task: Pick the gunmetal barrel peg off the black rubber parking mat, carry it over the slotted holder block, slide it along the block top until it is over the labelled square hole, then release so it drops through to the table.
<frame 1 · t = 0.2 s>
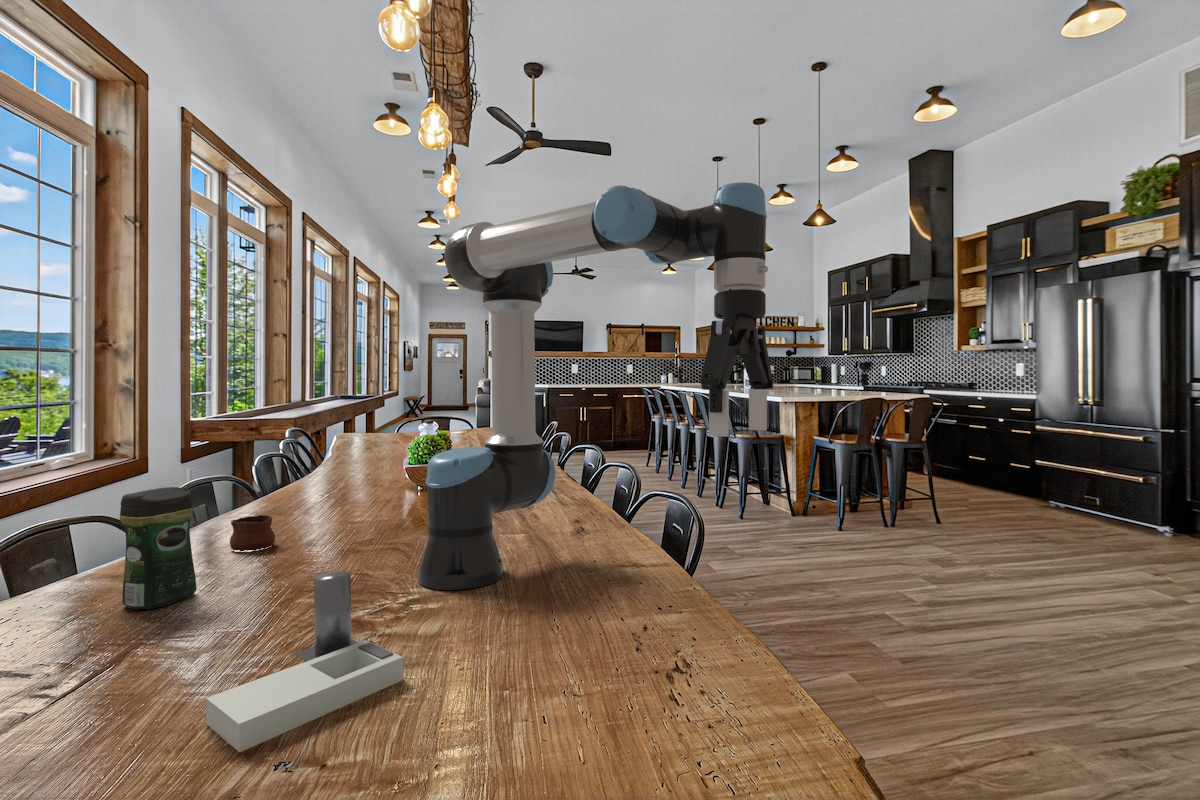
hand: (739, 433, 92), 28 cm above the table, fingers open, 13 cm apart
ceramic pot: (253, 550, 133), on the table
slotted holder block: (311, 702, 68), on the table
coffee jar: (159, 602, 100), on the table
parking mat: (333, 653, 80), on the table
barrel peg: (333, 651, 80), resting on parking mat
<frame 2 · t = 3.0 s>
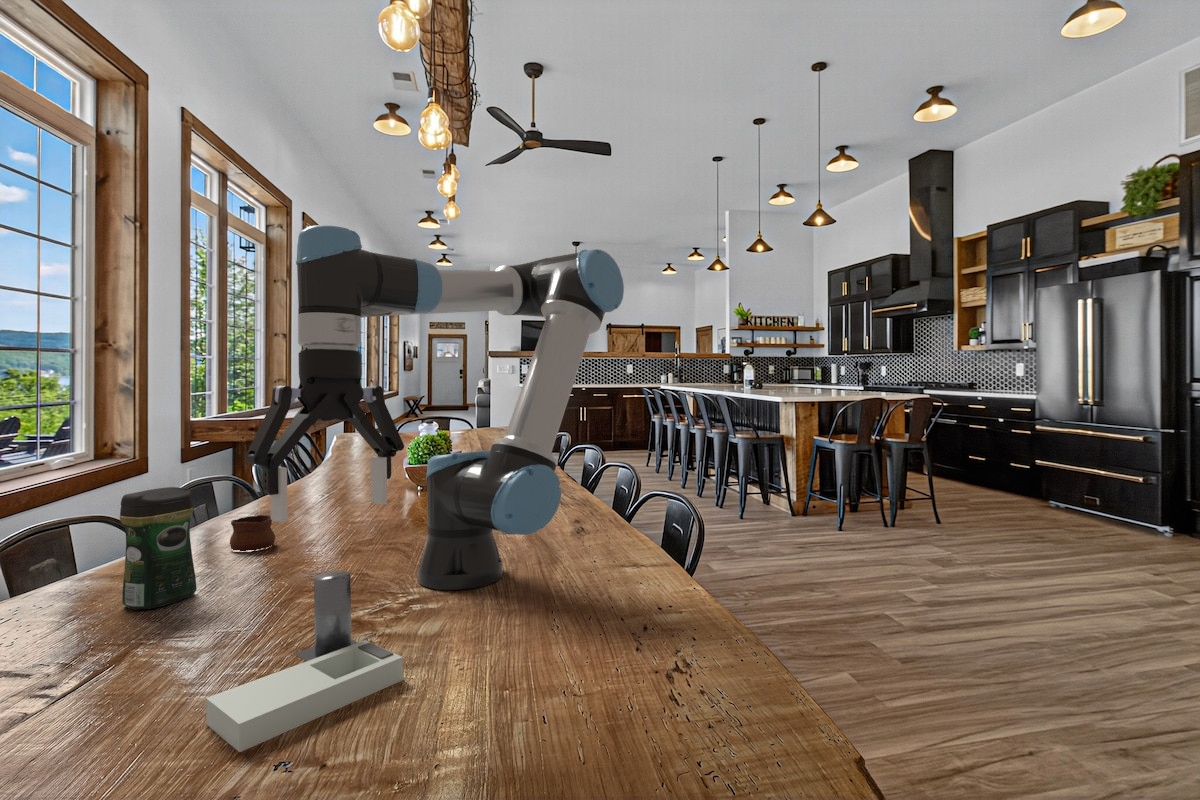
hand: (332, 511, 80), 19 cm above the table, fingers open, 13 cm apart
nothing on the table moved.
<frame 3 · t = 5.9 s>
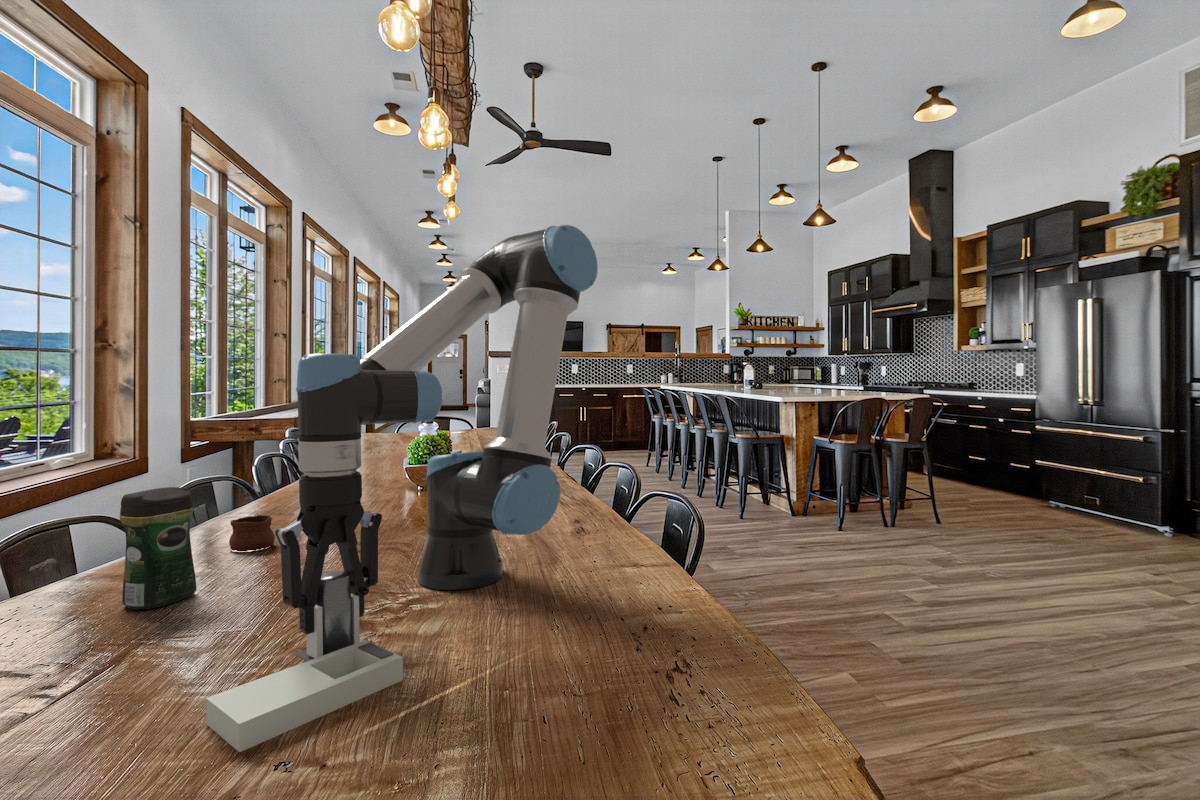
hand: (333, 648, 80), 1 cm above the table, fingers closed on barrel peg, 4 cm apart
barrel peg: (333, 651, 80), resting on parking mat, touching gripper
everything else where it was.
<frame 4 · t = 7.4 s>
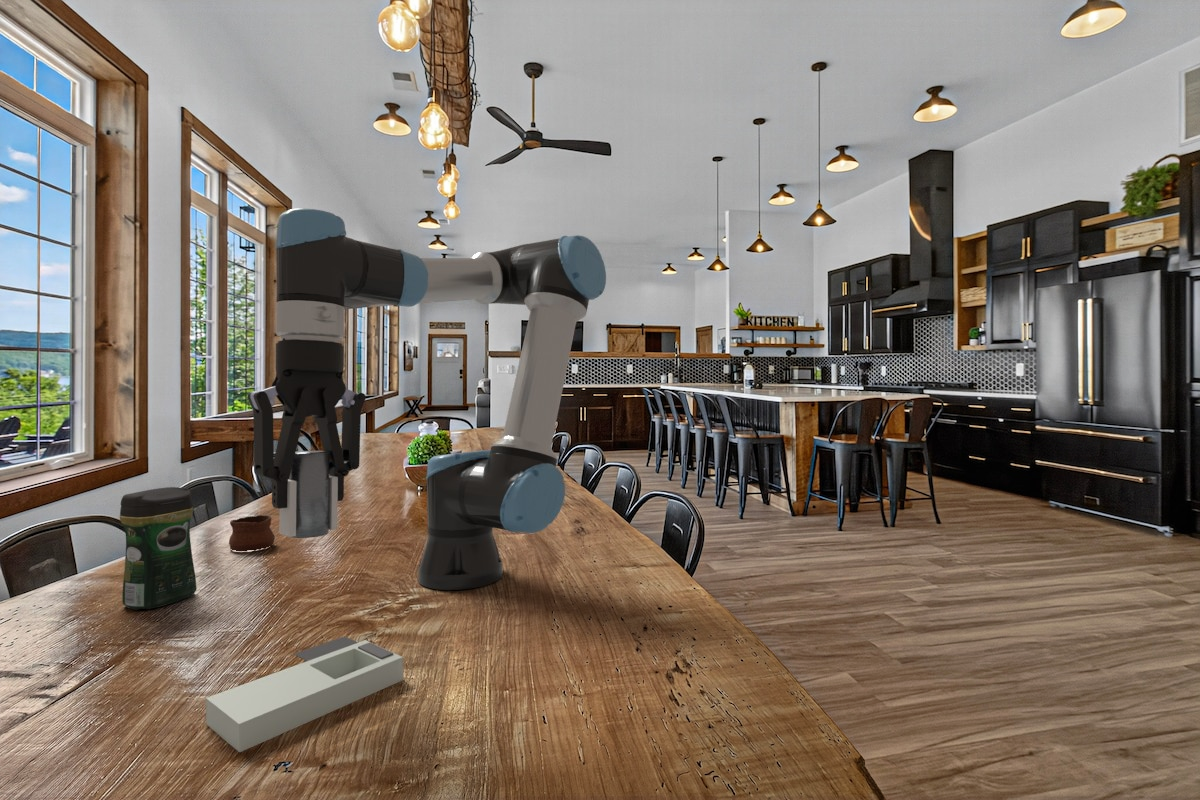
hand: (308, 531, 74), 18 cm above the table, fingers closed on barrel peg, 4 cm apart
barrel peg: (308, 534, 75), point 17 cm above the table, touching gripper
everything else where it was.
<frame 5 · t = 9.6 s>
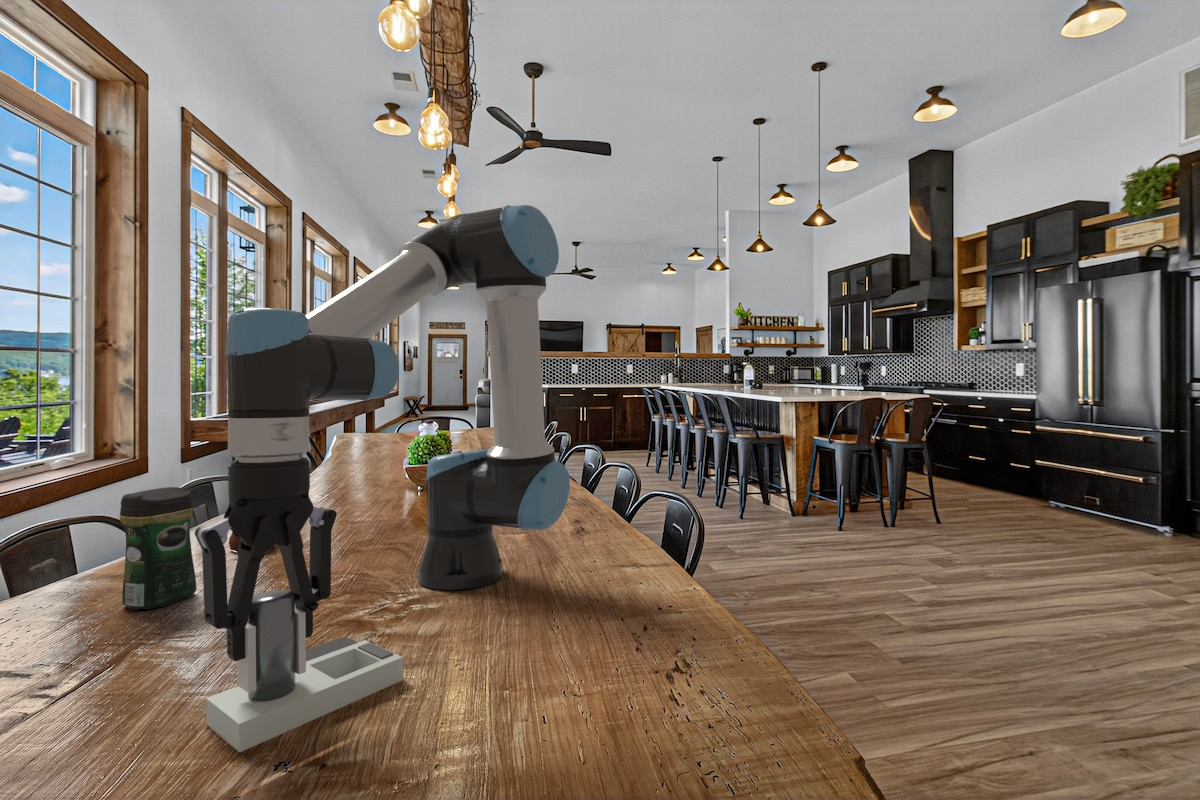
hand: (272, 678, 64), 4 cm above the table, fingers closed on barrel peg, 4 cm apart
barrel peg: (272, 691, 64), point 3 cm above the table, touching gripper, slotted holder block
everything else where it was.
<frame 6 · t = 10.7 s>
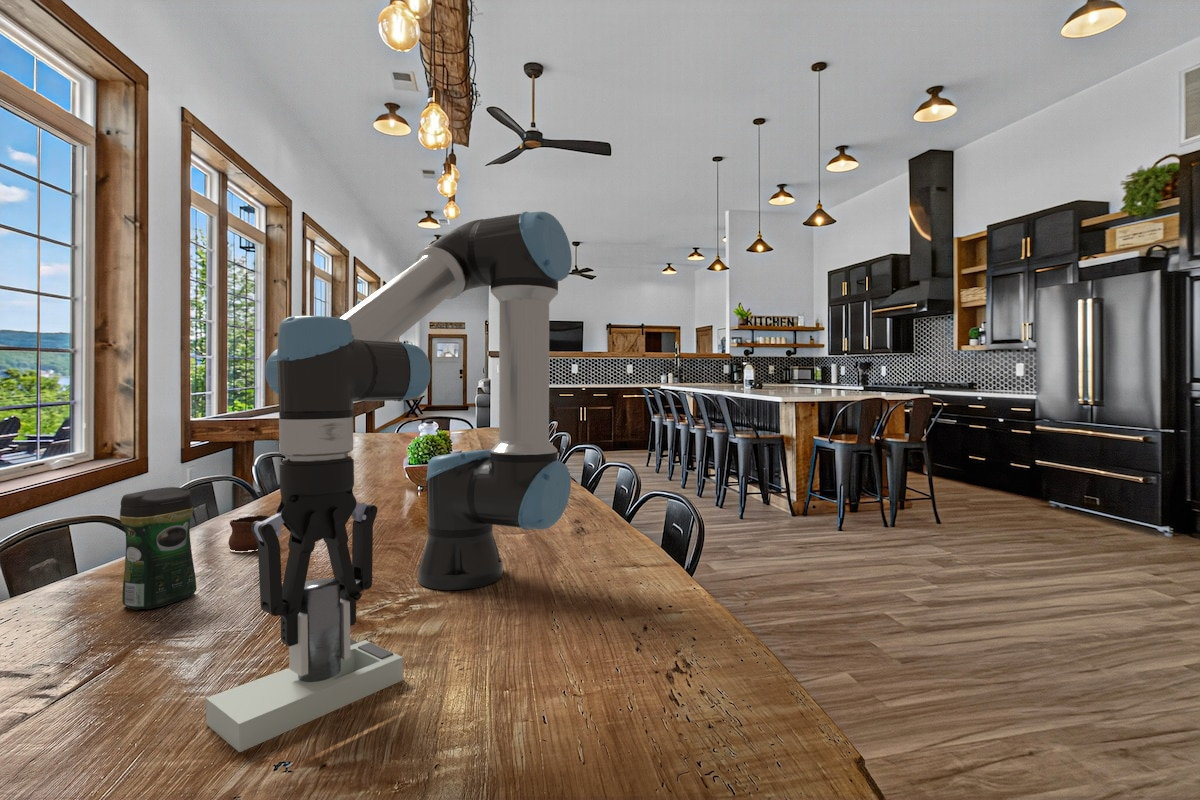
hand: (320, 662, 69), 4 cm above the table, fingers closed on barrel peg, 4 cm apart
barrel peg: (319, 672, 68), point 3 cm above the table, touching gripper, slotted holder block
everything else where it was.
when the fingers open (4 cm above the table, at t = 12.0 s): barrel peg drops 2 cm, resting in slotted holder block.
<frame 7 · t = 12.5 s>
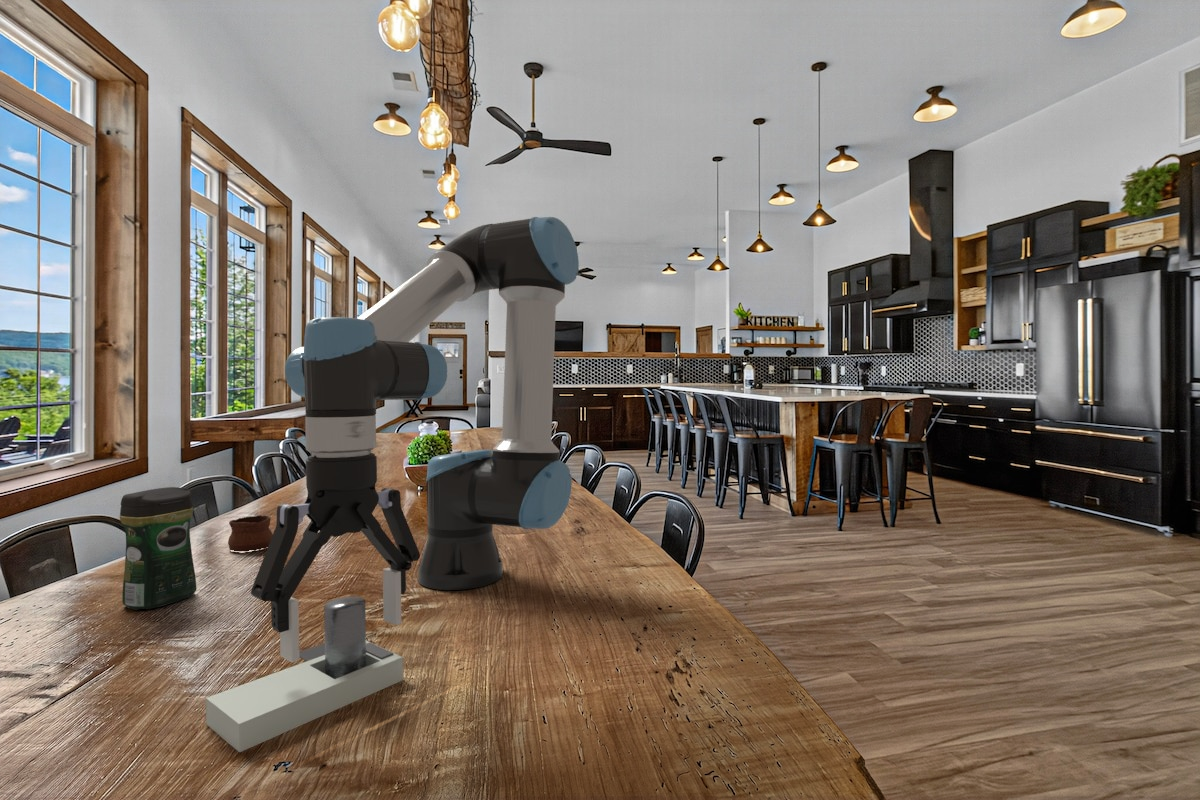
hand: (344, 639, 71), 6 cm above the table, fingers open, 12 cm apart
barrel peg: (346, 688, 71), resting in slotted holder block
everything else where it was.
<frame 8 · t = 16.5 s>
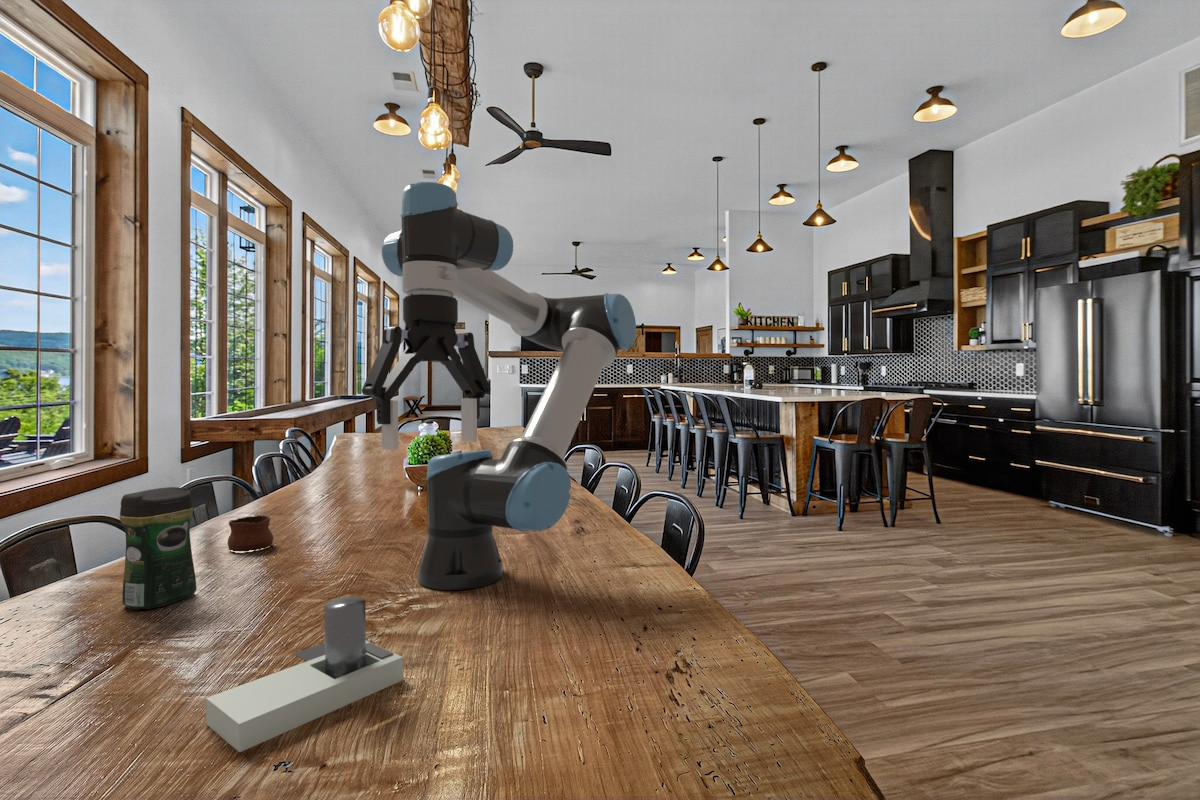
hand: (432, 445, 87), 27 cm above the table, fingers open, 13 cm apart
nothing on the table moved.
at the end: barrel peg 0.1 cm from the target spot on the slotted holder block, point 0.0 cm above the slotted holder block's base; barrel peg tilted 0°; the gripper is holding nothing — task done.
